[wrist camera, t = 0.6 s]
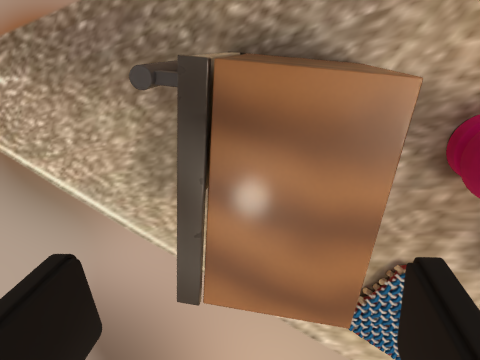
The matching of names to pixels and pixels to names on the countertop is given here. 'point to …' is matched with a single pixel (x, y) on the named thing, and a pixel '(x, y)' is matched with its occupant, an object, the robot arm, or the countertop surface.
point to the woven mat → (381, 313)
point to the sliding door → (173, 84)
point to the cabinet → (285, 180)
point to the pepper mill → (466, 153)
